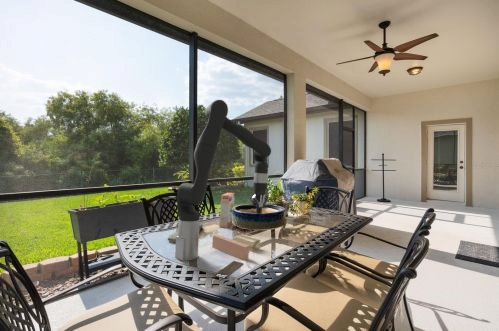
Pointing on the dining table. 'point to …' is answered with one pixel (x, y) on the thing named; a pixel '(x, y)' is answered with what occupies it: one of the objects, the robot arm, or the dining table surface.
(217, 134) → the robot arm
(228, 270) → the wooden plank
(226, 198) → the cracker box
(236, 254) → the board
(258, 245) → the birch block
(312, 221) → the dining table surface
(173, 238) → the long grey stone
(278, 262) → the dining table surface
